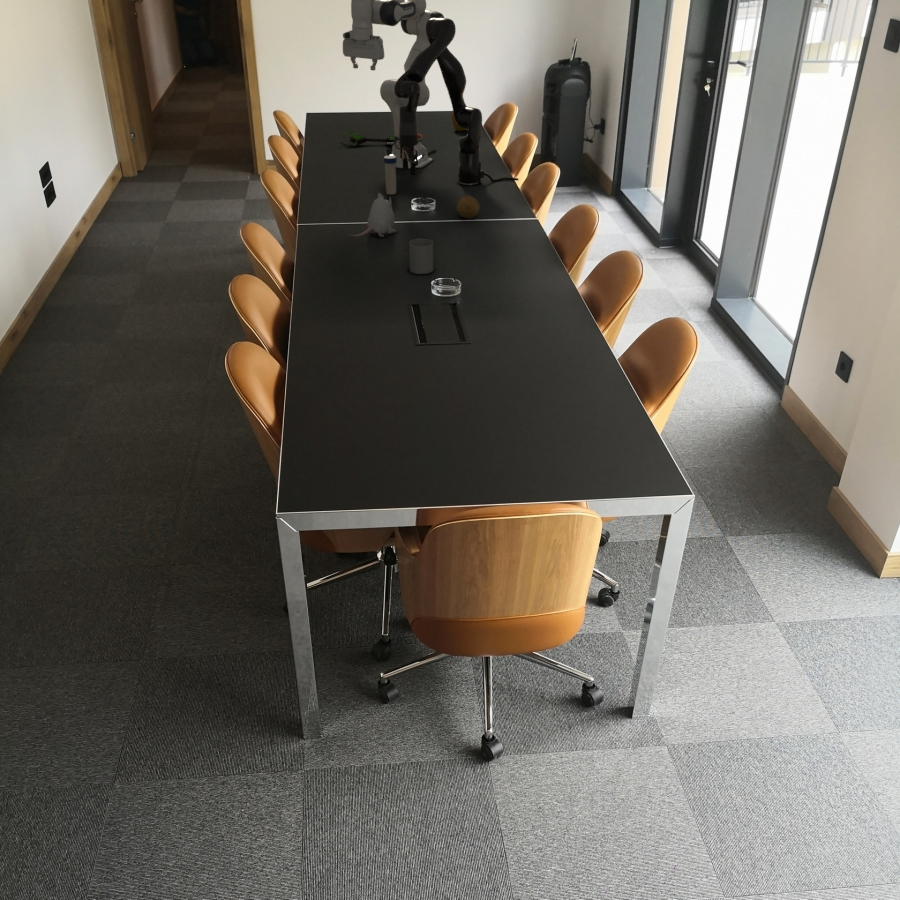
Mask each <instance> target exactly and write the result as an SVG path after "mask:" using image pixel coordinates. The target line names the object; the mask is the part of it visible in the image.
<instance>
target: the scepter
mask: <svg viewBox="0 0 900 900" xmlns="http://www.w3.org/2000/svg"><path fill="white" fill-rule="evenodd" d="M349 134H350V136H348V137H349V142H350V143H352V144H347V143H345V142H341V141H340V143H339V144H341V145H343V146H345V147H348V148H356V147H357V146H359V145H362V144H365V143H367V142H371V143H373V142H374V143H375V142H376V143H386V144H388V143H387V142H394V140H393V138H394V136H389V137H386V138H375V137H374V138H371V137H370V138H369V137H365V136H364V135H361V134H359V133H358V132H357V131H346V132H344V133H342V134H340V136H344V135H349ZM351 134H352V135H351Z"/></svg>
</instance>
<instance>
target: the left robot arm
mask: <svg viewBox="0 0 900 900" xmlns="http://www.w3.org/2000/svg"><path fill="white" fill-rule="evenodd" d="M350 15H351V18H352V24H351V30H348V31H345V32H343V33H342V38H343V40H342V55H343V56H344V57H348V58H350V62H351V64H352V68H353V69H359V63H357V61H356V60H357V59H366V60H367V59H368V60H371V62H372V65H370V67H369V68H370V71H376V66H377V64H378V61H381V60H384V58H385V48H384V40H383V38H382V37H381V36H380V35H374V27H373V25H381V26H382V25H383V26H388V27H395V26H397V25H398V24H399V23H400V27H401V30H402V31H403V33H405V34H407V35H409V36H416V39H415V41H414V43H413V45H412V47H410V50H409V52H408V54H407V57H406V59H405V61H404V64H403V70H404V73H405V72H406V71H407V70H408V69H409V68H410V66H411V64H412V63H413V61H414V59H415V58H416V57H417V56H418V55H419V54H420V53H421V52H422V51H423V50H425V49H426V48H427V47H429V46H430V43H429V41H428V38H427V35H426V23H427V21H428V20H429V19H431V18H445V16H444V14H443V13H441V12H439V11H436V10H434V11H432V10H428V9H427V0H350ZM398 79H399V78H391V79H386V80H384V81H383V82H382V83H381V85H380V88H379V94H380V97H381V99H382V100H383V101H384V102H385V103H386V105H387V106H388V109H389V111H390V113H391V116H392V120H393V133H394V134H393V140H394V144H392V148H391V150H392V151H391V154H389V156H396V169H397V168H398V169H403V161H402V158H400V143H399V108H400V106H402V105H406V104H407V103H408V99H403V98H399V97H397V96H396V95H395V92H394V86H395V83H396V81H397V80H398ZM418 84H419V85H420V90H421V91H420V97H419V101H418V106H417V107H423V106H426V105H427V104H428V102H429V100H430V97H431V94H430V93H431V92H430V89H429V86H428V85H427V84H426V77H425V78H424V79H423V81H422V82H420V83H418ZM422 138H423V134H422V133H418V144H417V145H415V146H414V150H417V151H418V165H416V168H417V169H421V168H424V167H426V166H427V165H428V164H430V163H432V162H433V158H431V157H429V155H430V154H433V153H434V152H436V151H437V150H436V149H433V150H430V151H428V149H427V148H426V146H425V145H423V144H422V143H421V142H420V140H421V139H422ZM407 161H408V160H407ZM415 161H416V160H415ZM413 163H414V161H413ZM408 169H410V163H409V161H408Z"/></svg>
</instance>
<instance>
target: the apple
mask: <svg viewBox="0 0 900 900" xmlns="http://www.w3.org/2000/svg"><path fill="white" fill-rule="evenodd" d="M451 121H452V125H453V128H454V129H455V131H457V132H463V131H466V130H467V129H464V128H460V127H459V126H458V125H457V123H456V120H455V117H454V112H453V110H452V111H451Z"/></svg>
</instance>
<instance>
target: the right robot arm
mask: <svg viewBox="0 0 900 900" xmlns="http://www.w3.org/2000/svg"><path fill="white" fill-rule="evenodd" d="M456 31H457V29H456V23H455V22H454V20H452V19H451V18H447V17H444V18H431V19H429V20H428V21H427V23H426V35H427V38H428V41H429V43H430V46H429V47H427V48H426V49H425V50H423V51H422V52H421V53H420V54H419V55H418V56H417V57H416V58H415V59H414V61H413V63H412V64H411V66H410V68H409V69H408V70H407V71H406V72H405V71H404V73H402V75H400V77H399V78H397V79H398V80H397V81H396V83H395V86H394V92H395V95H396V96H397V97H399V98H403V99H408V103H407V104H406V105H402V106H400V108H399V143H400V158H402V161H403V168H402V171H404V172H405V171H408V170H409V174H410V176H416V174H417V172H416V171H417V169H416V165H418V151H417V150H414V146H415V145H417V144H418V134H419V132H418V120H417V117H418V116H417V113H418V110H417V109H418V107H419V106H418V101H419V97H420V91H421V90H420V85H419V84H418V83H420V82H422V81H423V79H424V78H425V79H426V76H427V74H428V73H429V72H430V69H431V68H432V66H433V64H434V63H435V62H436V61H437V65H438V66H439V69H440V72H441V75H442V79H443V81H444V85H445V88H446V90H447V93H448V96H449V100H450V103H451V108H452V111H453V112H454V117H455V120H456V123H457V125H458V126H459V127H460V128H464V129H466V130H467V134H466V135H464V136H461V137H459V138H458V139H459V141H458V146H459V147H458V174H457V178H458V184H459V185H461V186H466V187H467V186H469V187H471V186H477V185H479V184H481V182H482V181H481V180H482V179H483V178H484V179H485V176H486V177H488V179H489V180H490V181H491V182H493V183H496V182H500V181H519V178H518V177H500V178H497V179H494V178H493V177H492V176H491V175H489V174H488V173H485V171H484V170H483V169H482V162H481V161H480V142H481V140H482V139H481V138H482V130H483V129H482V128H483V113H482V111H481V110H480V108H477V107H470V106H467V104H466V102H465V98H464V93H465V90H466V85H467V77H466V73H465V71H464V68H463V66H462V63H461V62H460V60H459V59H458V58H457V57H456V56H455V55H454V54H453V53H452V52H451V51H450V50H449V48H448V46H449V45H450V44H451V43H452V41H453V40H454V38H455V36H456ZM407 160H408V161H409V163H410V168H408V161H407ZM415 160H416V161H415ZM413 161H414V163H413Z"/></svg>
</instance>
